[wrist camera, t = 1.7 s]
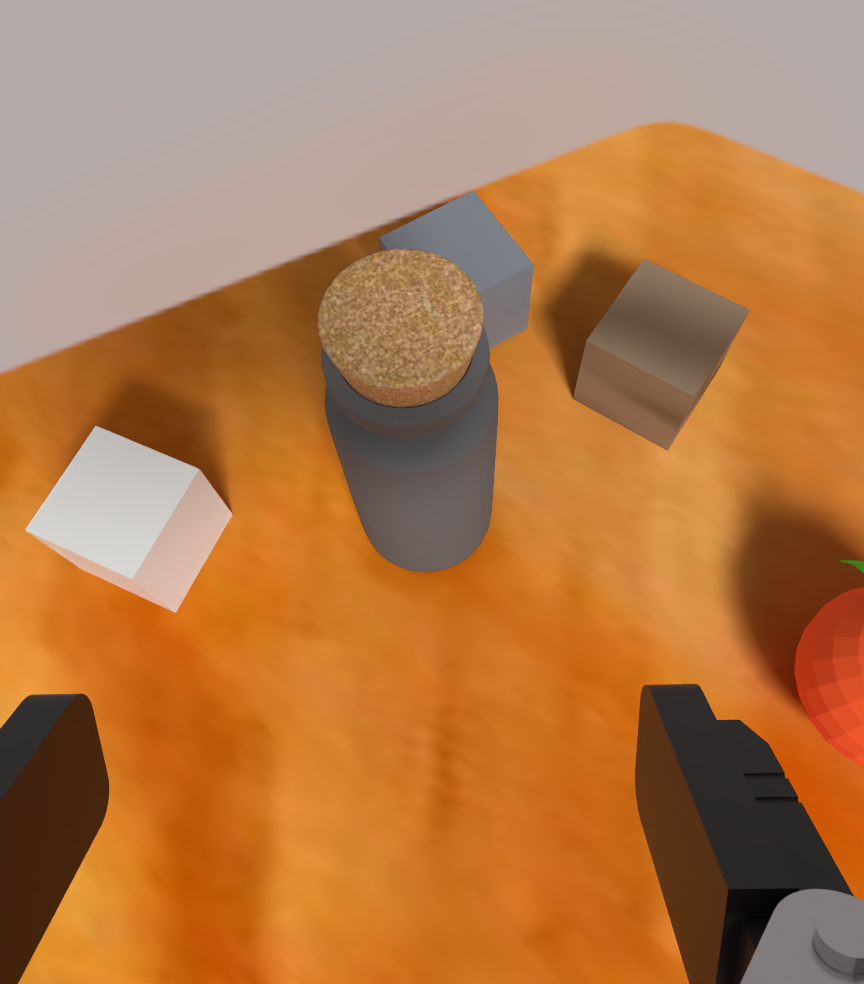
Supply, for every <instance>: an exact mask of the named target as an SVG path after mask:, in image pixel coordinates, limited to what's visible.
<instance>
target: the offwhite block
mask: <svg viewBox="0 0 864 984" xmlns="http://www.w3.org/2000/svg"><path fill="white" fill-rule="evenodd" d="M232 515H233V514H232V513H231V511H230V510H229V509H228V507H227V506H226V505H225V503H224V502H223V501H222V499H221V498H220V496H219V495H218V494H217V492H216V491H215V490H214V488H213V487H212V485H211V484H210V483H209V481H208V480H207V479H206V477H205V476H204V475H203V473H202V472H201V470H200V469H198V468H196V467H194V466H191V465H189V464H186V463H184V462H182V461H179V460H177V459H174V458H172V457H170V456H167V455H165V454H162V453H160V452H158V451H155V450H153V449H151V448H148V447H146V446H143V445H141V444H139V443H136V442H134V441H131V440H129V439H127V438H124V437H122V436H119V435H117V434H115V433H112V432H110V431H108V430H105V429H103V428H100V427H98V426H95V428H94V429H93V430H92V432H91V433H90V435H89V436H88V438H87V439H86V441H85V442H84V444H83V445H82V447H81V448H80V450H79V451H78V453H77V454H76V456H75V457H74V459H73V460H72V461H71V463H70V464H69V466H68V467H67V469H66V470H65V472H64V473H63V475H62V476H61V478H60V479H59V481H58V482H57V484H56V485H55V487H54V488H53V490H52V491H51V492H50V494H49V495H48V497H47V498H46V500H45V501H44V503H43V504H42V506H41V507H40V509H39V510H38V512H37V513H36V515H35V516H34V518H33V519H32V521H31V522H30V523H29V525H28V526H27V528H26V529H25V530H26V531H27V532H28V533H30V534H31V535H33V536H34V537H36V538H37V539H38V540H40V541H41V542H43V543H44V544H46V545H47V546H49V547H50V548H51V549H53V550H54V551H56V552H57V553H59V554H60V555H61V556H63V557H64V558H66V559H67V560H69V561H70V562H72V563H73V564H74V565H76V566H77V567H79V568H80V569H82V570H84V571H86V572H89V573H91V574H93V575H95V576H97V577H99V578H102V579H104V580H106V581H108V582H110V583H112V584H115V585H117V586H119V587H121V588H123V589H125V590H127V591H130V592H132V593H134V594H136V595H138V596H140V597H143V598H145V599H147V600H149V601H151V602H153V603H156V604H158V605H160V606H162V607H164V608H166V609H168V610H171V611H173V612H175V613H176V611H177V609H178V608H179V606H180V604H181V603H182V601H183V599H184V597H185V596H186V594H187V592H188V590H189V589H190V587H191V585H192V584H193V582H194V580H195V578H196V577H197V575H198V573H199V571H200V570H201V568H202V566H203V565H204V563H205V561H206V559H207V558H208V556H209V554H210V553H211V551H212V549H213V547H214V546H215V544H216V542H217V540H218V539H219V537H220V535H221V534H222V532H223V530H224V528H225V527H226V525H227V523H228V521H229V520H230V518H231V516H232Z"/></svg>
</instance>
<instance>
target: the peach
mask: <svg viewBox="0 0 864 984" xmlns="http://www.w3.org/2000/svg"><path fill="white" fill-rule="evenodd" d="M839 561H840V562H844V563H847V564H851V565H853V566H855V567H856V568H857V569H858V570H860V571H861V572H862V573H864V562H862V561H854V560H839ZM794 672H795V678H796V683H797V688H798V694H799V697H800V700H801V702H802V704H803V706H804V708H805V711H806V713H807V715H808V717H809V719H810V720H811V721H812V723H813V724H814V725H815V727H816V728H817V729H818V731H819V732H820V733H821V735H822V736H823V737H824V738H825V740H826V741H828V742H829V743H830V744H831V745H832V746H833V747H835V748H836V749H837V750H838V751H839V752H841V753H842V754H843V755H844V756H845V757H847V758H849V759H851V760H853V761H854V762H856V763H858V764H860V765H862V766H864V586H863V587H860V588H857V589H853V590H850V591H847V592H844V593H842V594H840V595H839V596H837V597H836V598H834V599H833V600H831V601H830V602H828V603H827V604H825V605H824V606H823V607H822V608H821V610H820V611H819V612H818V613H817V614H816V616H815V617H814V618H813V619H812V621H811V622H810V623H809V624H808V625H807V627H806V628H805V629H804V631H803V634H802V636H801V639H800V641H799V644H798V646H797V649H796V659H795V671H794Z"/></svg>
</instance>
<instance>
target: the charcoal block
mask: <svg viewBox="0 0 864 984" xmlns="http://www.w3.org/2000/svg"><path fill="white" fill-rule="evenodd" d="M379 240H380V246H381V251H385V250H391V249H403V248H408V249H418V250H423V251H427V252H432V253H435V254H437V255H440V256H442V257H444V258H447V259H449V260H450V261H452V262H453V263H455V264H456V265H458V266H459V267H460V268H461V269H462V270H463V271H464V272H465V273H466V274H467V275H468V276H469V277H470V278H471V279H472V281H473V282H474V284H475V285H476V287H477V289H478V291H479V294H480V296H481V299H482V304H483V310H484V320H483V326H484V328H485V331H486V335H487V339H488V342H489V349H490V348H492V347H494V346H496V345H498V344H500V343H502V342H503V341H505V340H507V339H509V338H511V337H513V336H515V335H516V334H518V333H520V332H522V331H524V330H526V329H527V321H528V312H529V302H530V293H531V284H532V274H533V265H534V264H533V263H532V262H531V261H530V259H529V258H528V257H527V256H526V254H525V253H524V252H523V251H522V250H521V248H520V247H519V246H518V245H517V243H516V242H515V241H514V240H513V238H512V237H511V236H510V235H509V234H508V232H507V231H506V230H505V229H504V227H503V226H502V225H501V224H500V223H499V221H498V220H497V219H496V218H495V216H494V215H493V214H492V213H491V211H490V210H489V209H488V208H487V207H486V205H485V204H484V203H483V202H482V200H481V199H480V198H479V197H478V196H477V194H476V193H475V192H474V191H471V192H469V193H467V194H465V195H463V196H461V197H459V198H457V199H455V200H453V201H451V202H449V203H447V204H445V205H443V206H441V207H439V208H437V209H435V210H433V211H431V212H429V213H427V214H425V215H423V216H421V217H419V218H417V219H415V220H413V221H411V222H409V223H407V224H405V225H403V226H401V227H399V228H397V229H395V230H393V231H391V232H389V233H387V234H385V235H383V236H381V237H379Z"/></svg>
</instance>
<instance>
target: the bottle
mask: <svg viewBox="0 0 864 984" xmlns="http://www.w3.org/2000/svg"><path fill="white" fill-rule="evenodd" d="M483 320H484V310H483V304H482V299H481V296H480V294H479V291H478V289H477V287H476V285H475V284H474V282H473V281H472V279H471V278H470V277H469V276H468V275H467V274H466V273H465V272H464V271H463V270H462V269H461V268H460V267H459V266H458V265H456V264H455V263H453V262H452V261H450V260H449V259H447V258H444V257H442V256H440V255H437V254H435V253H432V252H427V251H423V250H418V249H408V248H403V249H391V250H385V251H380V252H377V253H374V254H371V255H368V256H366V257H363V258H361V259H359V260H357V261H355V262H354V263H352V264H351V265H349V266H348V267H346V268H345V269H344V270H343V271H342V272H340V273H339V274H338V275H337V277H336V278H335V279H334V280H333V281H332V283H331V284H330V285H329V287H328V288H327V290H326V292H325V294H324V295H323V298H322V301H321V304H320V307H319V311H318V321H317V322H318V332H319V337H320V341H321V344H322V346H323V350H322V367H323V371H324V375H325V379H326V383H327V386H326V392H325V410H326V416H327V421H328V425H329V428H330V431H331V435H332V438H333V441H334V444H335V447H336V450H337V453H338V456H339V459H340V462H341V465H342V468H343V471H344V474H345V477H346V480H347V483H348V486H349V488H350V491H351V494H352V497H353V500H354V503H355V505H356V508H357V511H358V514H359V517H360V519H361V522H362V525H363V527H364V530H365V532H366V535H367V537H368V538H369V540H370V542H371V544H372V545H373V546H374V548H375V549H376V550H377V552H378V553H380V554H381V555H382V556H383V557H384V558H386V559H387V560H388V561H390V562H391V563H393V564H395V565H397V566H399V567H401V568H404V569H407V570H412V571H419V572H434V571H439V570H443V569H447V568H450V567H452V566H454V565H456V564H458V563H460V562H462V561H463V560H465V559H466V558H467V557H469V556H470V555H471V554H472V553H473V552H474V551H475V550H476V549H477V547H478V546H479V545H480V544H481V542H482V540H483V538H484V536H485V534H486V532H487V530H488V526H489V523H490V517H491V510H492V499H493V484H494V469H495V454H496V439H497V424H498V389H497V383H496V378H495V375H494V372H493V370H492V367H491V365H490V364H489V357H490V353H489V342H488V339H487V335H486V331H485V328H484V326H483Z"/></svg>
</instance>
